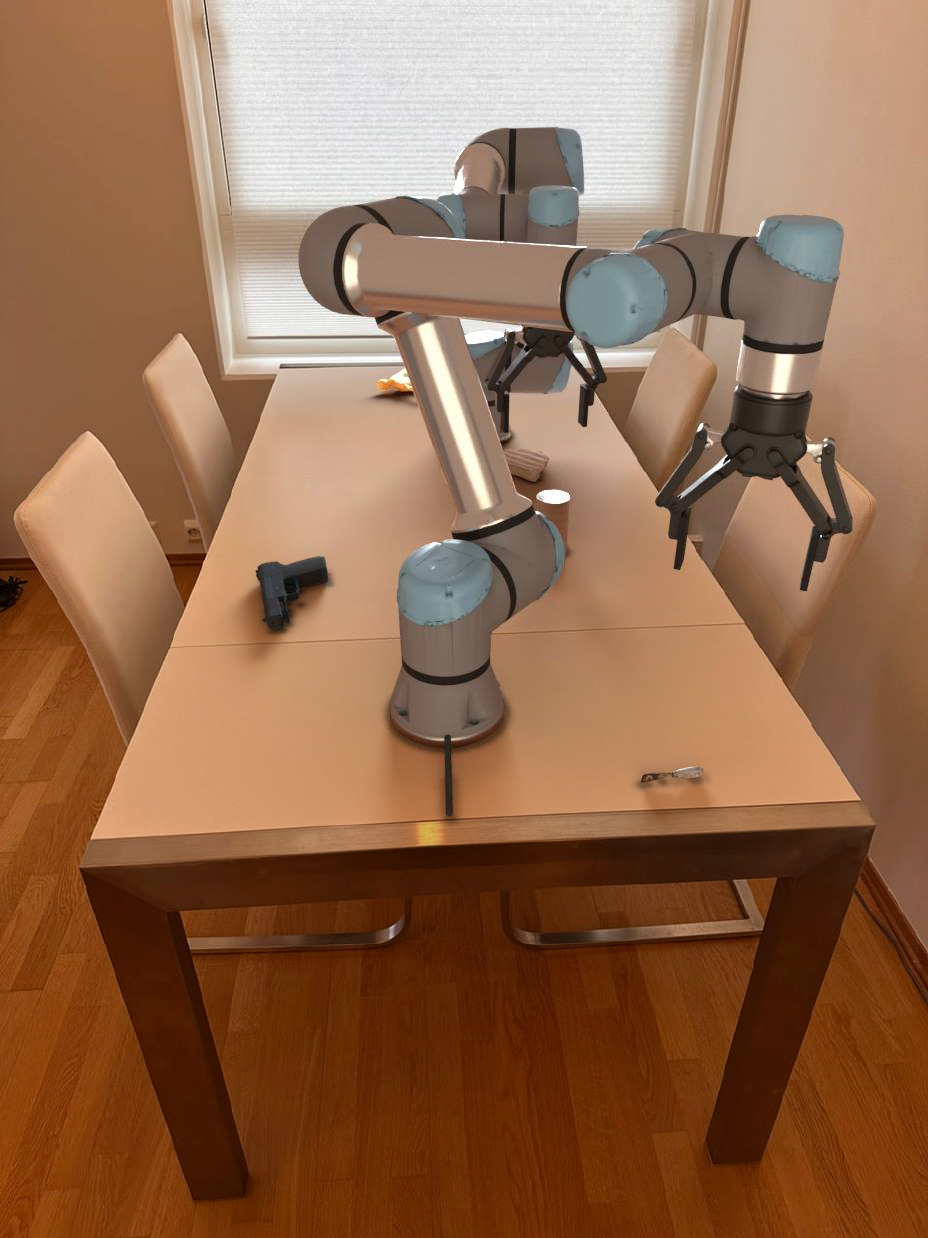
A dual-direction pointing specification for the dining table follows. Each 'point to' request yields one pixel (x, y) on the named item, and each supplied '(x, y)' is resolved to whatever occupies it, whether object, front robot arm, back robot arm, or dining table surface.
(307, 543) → the dining table surface
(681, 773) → the putty knife
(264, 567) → the handgun
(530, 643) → the dining table surface
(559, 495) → the canister
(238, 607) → the dining table surface
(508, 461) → the beige ridged slab
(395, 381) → the orange white flat wedge
